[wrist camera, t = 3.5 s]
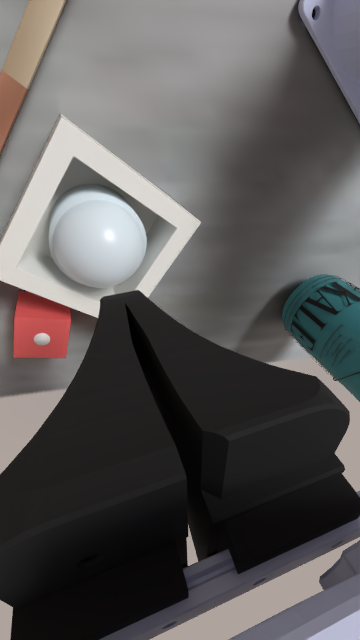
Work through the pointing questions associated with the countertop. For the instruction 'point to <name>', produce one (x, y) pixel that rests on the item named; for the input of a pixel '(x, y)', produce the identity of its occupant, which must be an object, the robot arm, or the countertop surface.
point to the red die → (40, 327)
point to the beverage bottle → (328, 326)
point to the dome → (96, 236)
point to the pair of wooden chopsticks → (25, 59)
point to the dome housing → (54, 180)
